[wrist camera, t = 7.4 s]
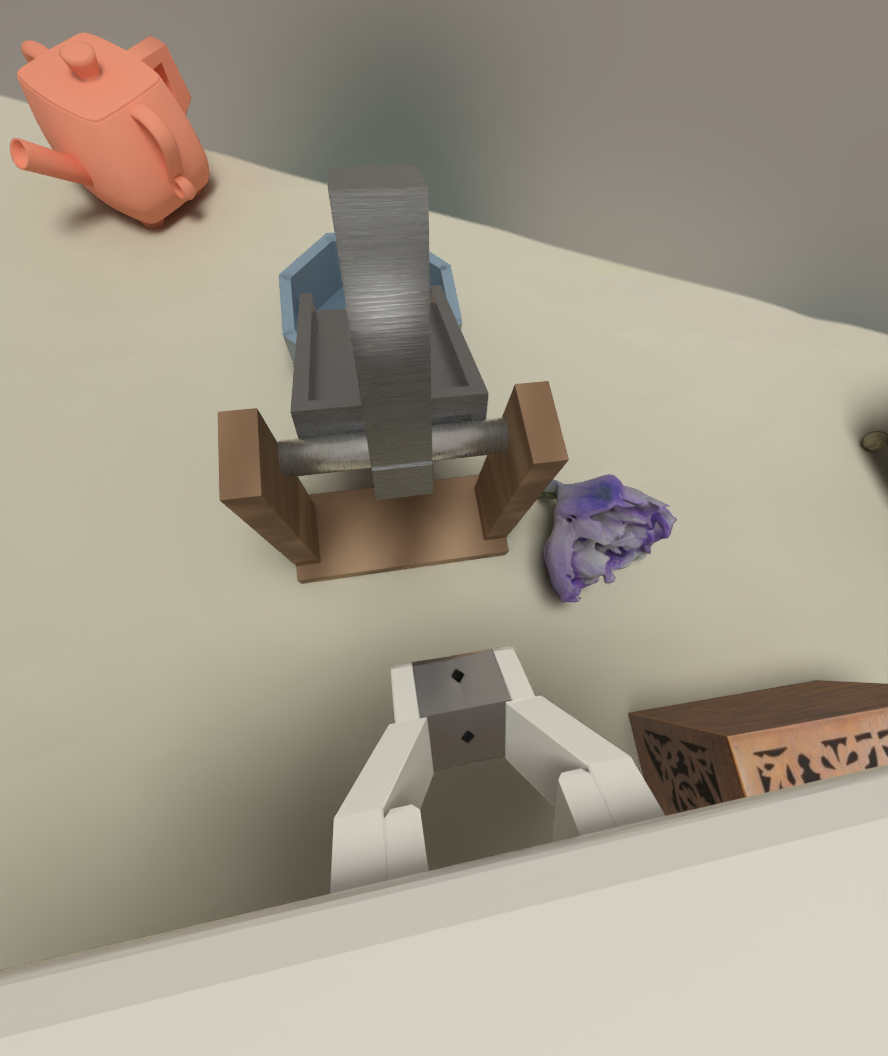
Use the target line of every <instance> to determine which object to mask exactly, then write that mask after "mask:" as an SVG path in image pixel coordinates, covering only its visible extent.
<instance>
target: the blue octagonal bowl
mask: <svg viewBox="0 0 888 1056" xmlns="http://www.w3.org/2000/svg"><path fill="white" fill-rule="evenodd" d="M429 277H430V286H432V285H441V286H442V289H443V291H444V293H445V296H446V298H447V300H448V302H449V305H450V307H451V309H452V311H453V314H454V316H455V318H456V321H457V323H458V325H459V327H460V330H461V326H462V319H461V314H460V309H459V304H458V299H457V294H456V289H455V285H454V280H453V275H452V270H451V265H450V264H448V263H446V262H445V261H443V260H442V259H440V258H439V257H437V256H436V255H434V254H432V253H431V252H429ZM279 286H280V300H281V314H282V328H283V336H284V339H285V342H286V344H287V347H288V350H289V352H290V355H291V357H292V360H293V363H294V362H295V350H296V337H297V324H298V312H299V299H300V294H306V293H312V295H313V300H314V305H315V310H331V309H346V302H345V296H344V289H343V283H342V276H341V270H340V264H339V257H338V251H337V244H336V238H335V233H326V234H325V235H324V236H323V237H321V238H320V239H319V240H318V241H317V242H316V243H315V244H313V245H312V246H311V247H310V248H309V249H308V250H307V251H305V252H304V253H303V254H302V255H301V256H300V257H299V258H298V259H296V260H295V261H294V262H293V263H292V264H291V265H290V266H288V267H287V268H286V269H285V270H284V271H283V272H282V273H280V274H279Z"/></svg>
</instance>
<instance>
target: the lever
mask: <svg viewBox="0 0 888 1056" xmlns="http://www.w3.org/2000/svg"><path fill="white" fill-rule="evenodd" d="M327 169H328V193H329V199H330V205H331V212H332V218H333V225H334V231H335V238H336V244H337V251H338V257H339V264H340V270H341V276H342V283H343V289H344V296H345V302H346V309H331V310H315V305H314V300H313V295H312V293H306V294H300V299H299V312H298V324H297V337H296V350H295V362H294V375H293V388H292V400H291V415H292V418H293V422H294V425H295V428H296V432H297V435H298V438H299V439H292V440H282V441H279V442H278V457H279V463H280V467H281V470H282V473H283V475H284V477H295V476H304V475H313V474H322V473H330V472H339V471H348V470H357V469H366V468H371V470H372V477H373V484H374V490H375V496H376V500H382V499H390V498H399V497H407V496H415V495H423V494H432V493H433V463H432V461H437V460H446V459H455V458H464V457H473V456H482V455H491V454H500V453H506V452H507V451H508V448H509V430H508V425H507V422H506V420H505V419H504V418H497V419H487V420H486V413H487V403H488V391H487V389H486V387H485V384H484V382H483V380H482V377H481V375H480V373H479V371H478V368H477V366H476V364H475V361H474V359H473V357H472V355H471V352H470V350H469V348H468V346H467V343H466V341H465V339H464V336H463V334H462V332H461V330H460V327H459V325H458V323H457V321H456V318H455V316H454V314H453V311H452V309H451V307H450V305H449V302H448V300H447V298H446V296H445V293H444V291H443V289H442V286H441V285H432V286H430V277H429V215H428V186H427V184H426V183H425V181H424V179H423V178H422V176H421V174H420V173H419V171H418V170H417V168H416V166H415V165H407V166H372V167H339V168H327Z"/></svg>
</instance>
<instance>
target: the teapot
mask: <svg viewBox="0 0 888 1056" xmlns="http://www.w3.org/2000/svg"><path fill="white" fill-rule="evenodd" d="M21 50H22V53H23V55H24V57H25V59H26V60H27V62H28V64H26V65H25V66H23V67H22V68H21V69H19V70H18V73H17V76H18V79H19V82H20V84H21V87H22V89H23V92H24V94H25V96H26V99H27V101H28V103H29V105H30V108H31V110H32V112H33V114H34V116H35V118H36V121H37V123H38V124H39V126H40V128H41V130H42V132H43V134H44V136H45V137H46V139H47V141H48V143H49V144H50V146H51V147H52V149H53V150H52V149H49V148H46V147H43V146H39V145H36V144H33V143H30V142H27V141H24V140H21V139H18V138H13V139H12V140H11V142H10V152H11V156H12V159H13V161H14V163H15V164H16V166H17V167H18V168H20V169H22V170H26V171H31V172H35V173H39V174H43V175H47V176H51V177H55V178H59V179H63V180H67V181H71V182H75V183H79V184H82V185H83V186H84V187H86V188H87V189H88V190H89V191H90V192H92V193H93V194H94V195H95V196H97V197H98V198H99V199H100V200H102V201H103V202H105V203H106V204H107V205H109V206H111V207H112V208H114V209H116V210H118V211H120V212H122V213H124V214H126V215H128V216H130V217H132V218H134V219H137V220H139V221H141V222H142V224H143V226H145V227H147V228H150V229H154V228H158V227H160V226H162V225H163V224H164V222H165V217H166V216H168V215H169V214H171V213H172V212H173V211H175V210H176V209H177V208H179V207H180V206H181V205H183V204H184V203H185V202H186V201H188V200H192V199H193V198H194V197H197V196H199V195H200V194H201V193H202V192H203V187H204V186H205V185H206V184H207V182H208V181H209V166H208V161H207V157H206V155H205V152H204V150H203V148H202V146H201V144H200V141H199V139H198V137H197V135H196V133H195V131H194V130H193V128H192V126H191V124H190V122H189V121H188V119H187V117H186V113H187V110H188V107H189V104H190V101H191V96H190V94H189V92H188V89H187V87H186V85H185V83H184V81H183V79H182V77H181V75H180V73H179V71H178V69H177V67H176V65H175V63H174V61H173V58H172V56H171V54H170V52H169V50H168V48H167V46H166V44H165V43H163V42H161V41H159V40H157V39H156V38H154V37H152V36H149V37H147V38H146V39H144V40H142V41H141V42H139V43H138V44H136V45H135V46H133V47H131V48H130V49H128V50H127V51H126V50H124V49H122V48H120V47H118V46H116V45H114V44H112V43H111V42H109V41H107V40H104V39H102V38H100V37H97V36H95V35H92V34H89V33H80V34H77V35H75V36H73V37H71V38H69V39H68V40H66V41H64V42H62V43H60V44H58V45H57V46H55V47H53V48H51V49H50V50H49V49H48V48H46V47H45V46H43V45H42V44H40V43H38V42H35V41H25V42H23V43H22V45H21Z"/></svg>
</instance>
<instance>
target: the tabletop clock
mask: <svg viewBox="0 0 888 1056" xmlns="http://www.w3.org/2000/svg"><path fill="white" fill-rule="evenodd" d="M863 445H864V446H865V448H867V449H869V450H881V449H883V448H885V447H886V446H888V434H887V433H885V432H882V431H875V432H871V433H869V434H867V435H866V436H865V437H864V440H863Z"/></svg>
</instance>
